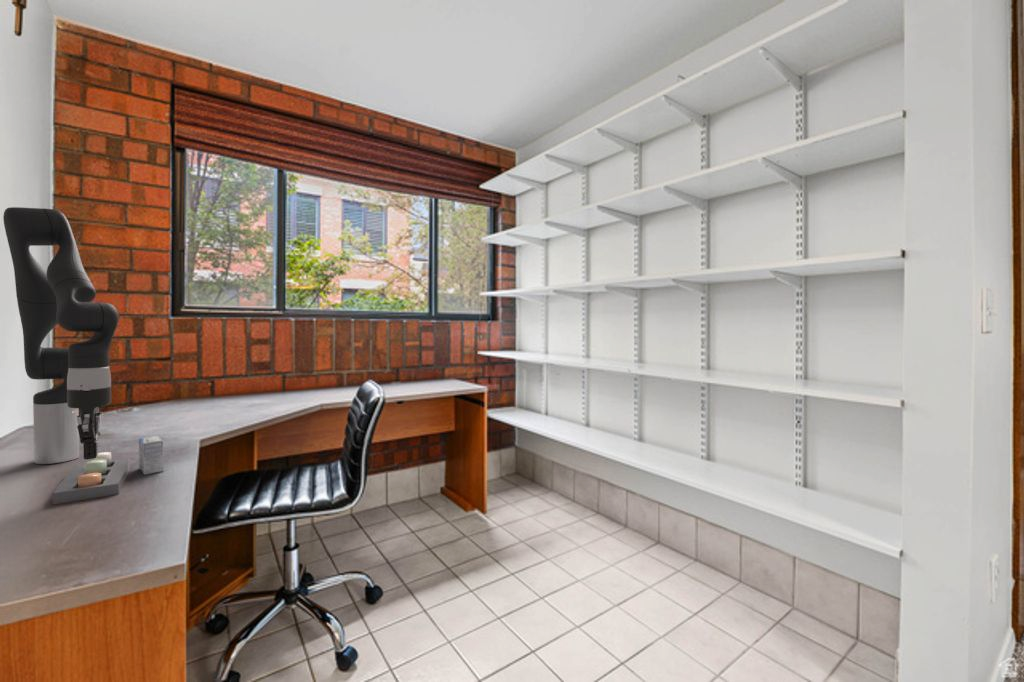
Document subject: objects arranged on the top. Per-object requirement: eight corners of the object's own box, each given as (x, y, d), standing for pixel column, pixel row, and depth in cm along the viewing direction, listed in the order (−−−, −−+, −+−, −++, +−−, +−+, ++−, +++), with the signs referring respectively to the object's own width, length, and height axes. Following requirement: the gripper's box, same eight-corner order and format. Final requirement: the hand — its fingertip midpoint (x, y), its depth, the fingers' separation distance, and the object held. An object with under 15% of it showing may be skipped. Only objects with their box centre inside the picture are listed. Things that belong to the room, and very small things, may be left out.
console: (75, 474, 117) (75, 465, 117) (130, 467, 124) (130, 458, 124) (52, 504, 98) (52, 493, 98) (118, 494, 104) (118, 483, 104)
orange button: (80, 487, 105) (79, 474, 105) (102, 483, 107) (102, 471, 107) (76, 492, 101) (76, 479, 101) (99, 488, 104) (99, 476, 104)
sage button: (86, 472, 111) (86, 461, 111) (107, 469, 113) (107, 458, 113) (83, 477, 108) (83, 465, 108) (105, 474, 110) (105, 462, 110)
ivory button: (92, 464, 117) (92, 453, 117) (112, 462, 120) (112, 451, 120) (89, 468, 114) (89, 457, 114) (110, 465, 117) (109, 454, 117)
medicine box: (164, 471, 121) (163, 440, 120) (143, 475, 117) (142, 443, 117) (159, 465, 126) (158, 435, 126) (138, 468, 123) (138, 438, 123)
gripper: (73, 383, 107) (74, 453, 107) (60, 391, 96) (61, 468, 97) (114, 381, 111) (115, 449, 112) (106, 388, 101) (107, 463, 101)
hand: (90, 458), depth 104 cm, fingers closed
